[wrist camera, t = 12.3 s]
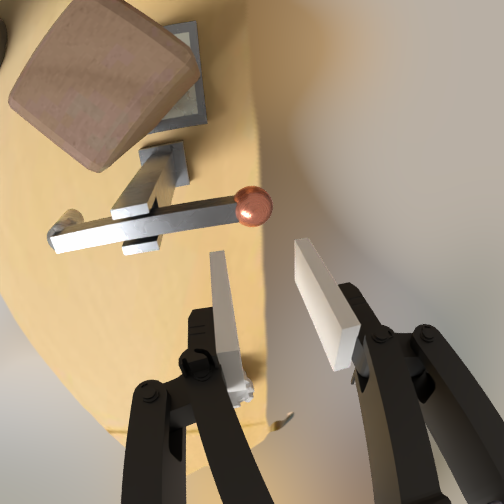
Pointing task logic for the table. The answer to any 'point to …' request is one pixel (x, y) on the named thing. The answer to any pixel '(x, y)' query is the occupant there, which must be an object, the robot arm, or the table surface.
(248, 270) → the table surface
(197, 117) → the press
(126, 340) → the table surface
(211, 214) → the lever
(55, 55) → the wooden block
